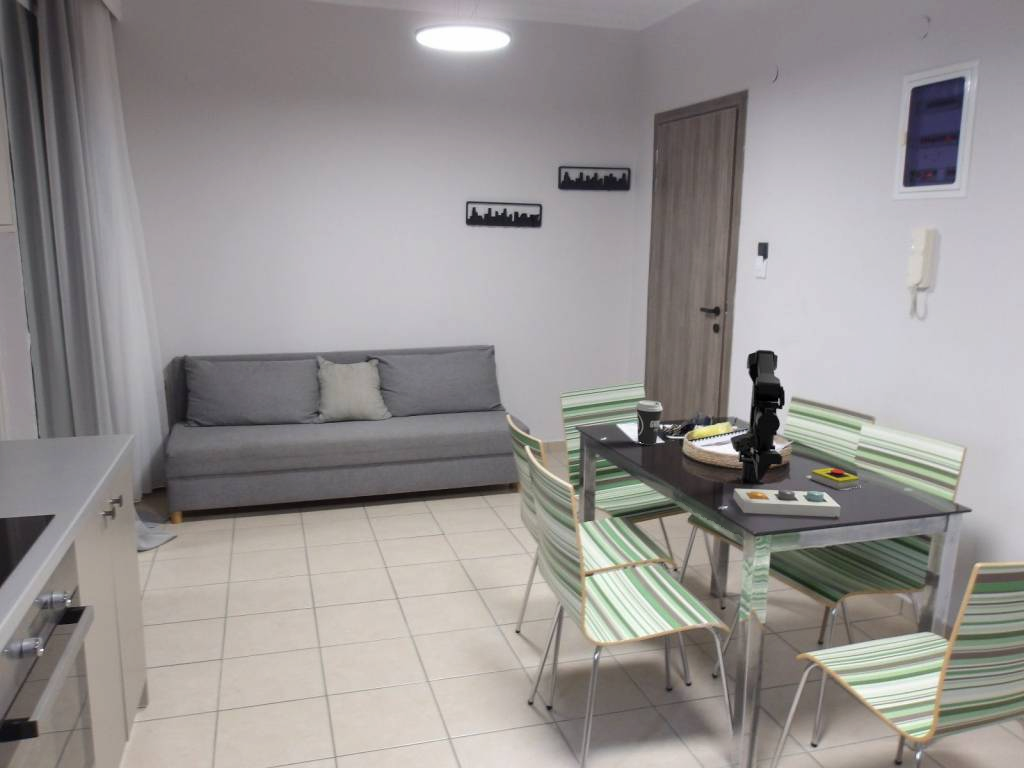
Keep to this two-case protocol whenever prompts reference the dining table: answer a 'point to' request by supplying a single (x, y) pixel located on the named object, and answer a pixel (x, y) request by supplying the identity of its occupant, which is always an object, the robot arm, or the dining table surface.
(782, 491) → the charcoal button
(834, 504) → the button panel
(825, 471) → the emergency button
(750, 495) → the orange button
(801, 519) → the dining table surface
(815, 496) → the teal button
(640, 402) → the coffee cup
